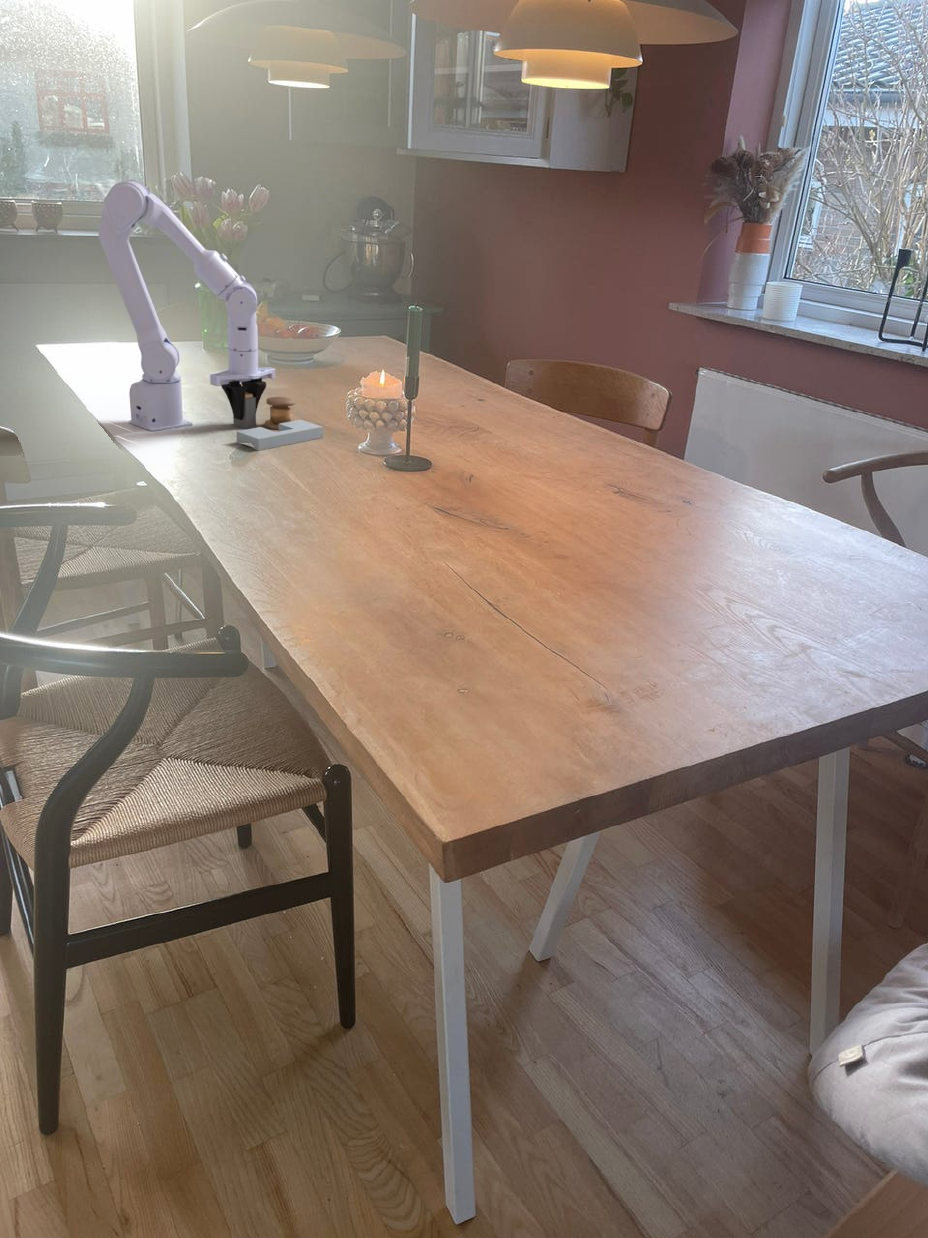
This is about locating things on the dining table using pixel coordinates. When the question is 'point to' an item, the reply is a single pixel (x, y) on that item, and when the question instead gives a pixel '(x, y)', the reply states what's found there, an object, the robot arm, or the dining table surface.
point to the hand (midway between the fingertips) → (244, 417)
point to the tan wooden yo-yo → (279, 411)
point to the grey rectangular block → (248, 412)
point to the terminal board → (280, 435)
